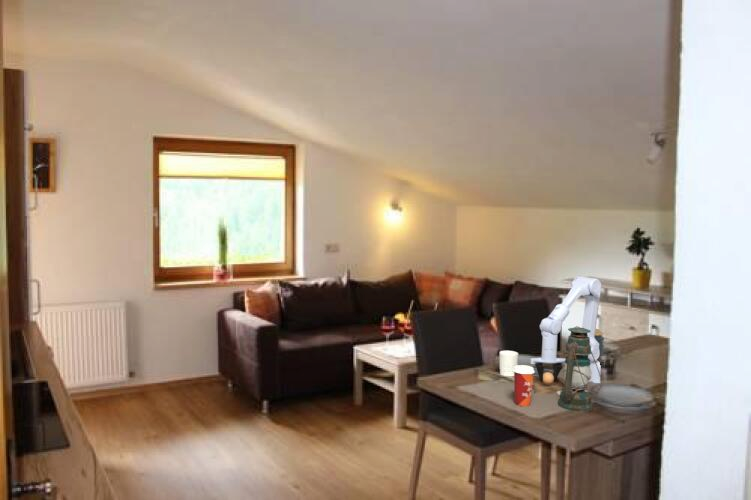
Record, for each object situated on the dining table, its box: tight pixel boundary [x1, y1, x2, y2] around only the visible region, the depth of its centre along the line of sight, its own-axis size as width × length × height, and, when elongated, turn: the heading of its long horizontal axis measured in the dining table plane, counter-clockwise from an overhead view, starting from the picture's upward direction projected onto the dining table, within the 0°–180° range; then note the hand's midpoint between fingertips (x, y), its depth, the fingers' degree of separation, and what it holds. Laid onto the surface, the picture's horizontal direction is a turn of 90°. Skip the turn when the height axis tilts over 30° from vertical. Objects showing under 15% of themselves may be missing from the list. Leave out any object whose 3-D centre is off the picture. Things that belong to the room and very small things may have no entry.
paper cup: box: [513, 364, 535, 407], centre depth 247 cm, size 8×8×14 cm
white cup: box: [499, 350, 519, 377], centre depth 284 cm, size 8×8×10 cm
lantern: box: [557, 325, 603, 412], centre depth 245 cm, size 19×14×30 cm
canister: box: [594, 328, 605, 357], centre depth 308 cm, size 13×13×18 cm
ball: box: [543, 372, 554, 384], centre depth 267 cm, size 5×5×5 cm
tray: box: [532, 377, 565, 395], centre depth 267 cm, size 14×14×2 cm
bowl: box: [533, 367, 553, 377], centre depth 280 cm, size 13×13×3 cm
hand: (547, 381), depth 267 cm, fingers closed on ball, 5 cm apart
